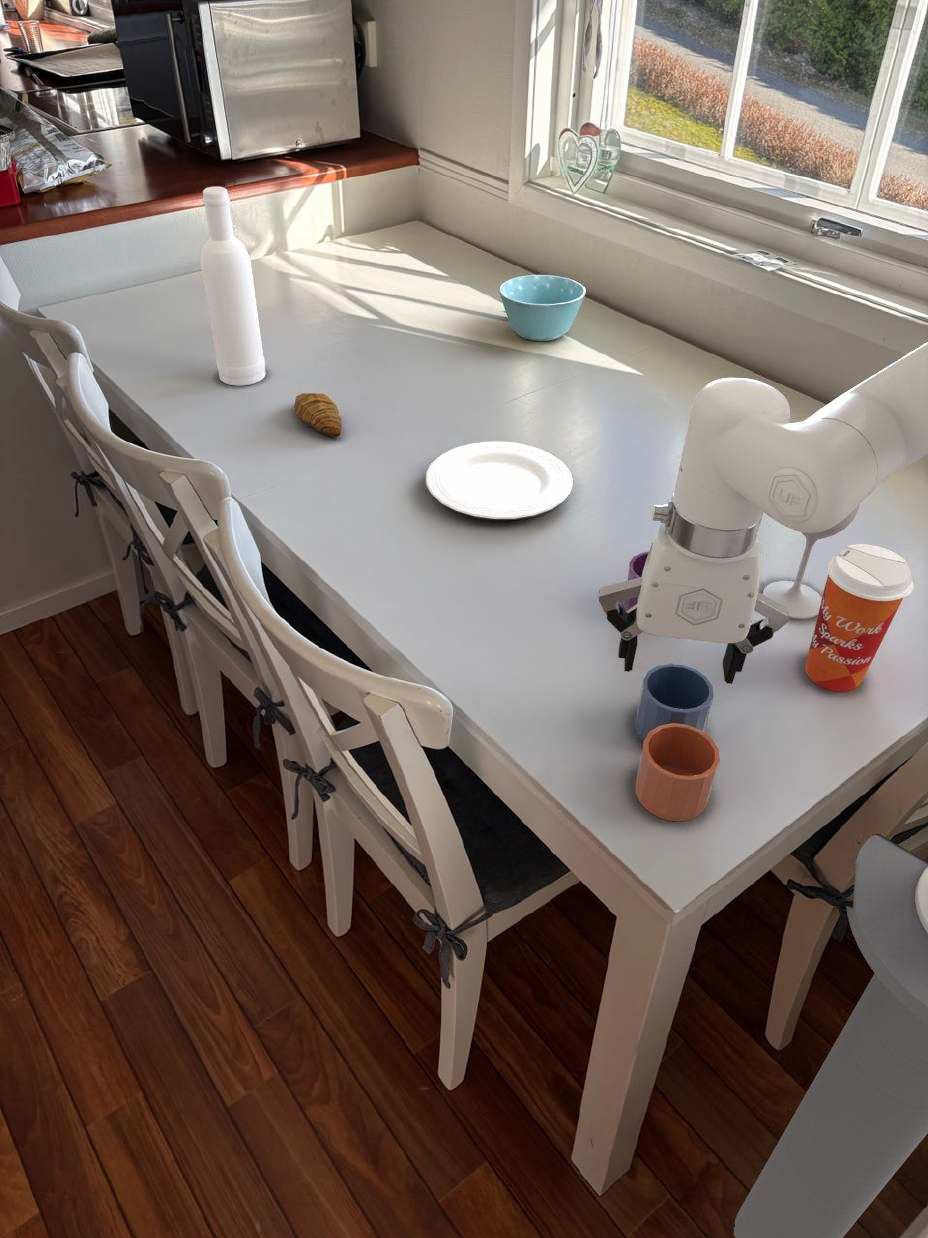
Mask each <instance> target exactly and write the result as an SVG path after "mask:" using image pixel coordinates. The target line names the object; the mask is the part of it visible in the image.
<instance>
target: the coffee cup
mask: <svg viewBox="0 0 928 1238" xmlns="http://www.w3.org/2000/svg"><path fill="white" fill-rule="evenodd" d="M826 571H827V577H826V582H825V584H824V588H823V591H822V595H821V598H822V600H821V604H820V609H819V613H818V615H817V616H816V617H817V618H816V621H815V624H814V628H813V633H812V636H811V641H810V644H809V649H808V652H807V653H808V654H807V658H806V663H805V672H806V675H807V676H808V678H809V679H810V680H811V681H812V682H813V683H814V684H816V685H817V686H819V687H821V688H823V689H825V690H828V691H831V692H838V693H845V692H846V693H847V692H851V691H854V690H856V689H857V688H858V687H859V686H860V685H861V683H862V682H863V680H864V678H865V676H866V674H867V672H868V670H869V668H870V666H871V664H872V662H873V660H874V659H875V656H876V654H877V652H878V650H879V648H880V646H881V644H882V642H883V640H884V639H885V636H886V634H887V632H888V630H889V628H890V626H891V624H892V622H893V620H894V618H895V616H896V614H897V612H898V609H899V607H900V606H901V604H902V601H903V600H904V598H907V597H909V596H910V595H911V594H912V592H913V591H914V588H915V587H914V586H915V585H914V583H913V577H912V575H911V569H910V565H909V564H908V562H907V561H906V559H904V558H903V557H901V555H899V554H897V553H896V552H895V551H892V550H890V549H888V548H885V547H882V546H878V545H874V544H866V543H857V544H849V545H846V546H845V547H844V548H842V549H841V550H840V551H839V552H837V553H836V554H835V555H834V556H832V557H831V558H830V559H829V561H828V563H827V565H826Z"/></svg>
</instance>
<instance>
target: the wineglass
mask: <svg viewBox="0 0 928 1238" xmlns="http://www.w3.org/2000/svg"><path fill="white" fill-rule="evenodd" d="M860 507H861V504H860V505H859V506H858V507H857V508H855V509H854V510H853V511H852V512H851V513H850V514H849V515H848V516H847V517H846V518H845V519H843V520H842V521H841V522H840V523H838V524H837V525H835V526H834V527H832V528H830V529H828V530H825V531H822V532H817V533H803V532H800V533H801V534H802V535H803V536H804V537H805V538H806V541H805V548H804V551H803V554H802V557H801V561H800V563H799V566H798V570H797V574H796V577H795V580H794V581H791V580H778V581H777V580H776V581H774V582H771V583H769V584H767V585H766V586H765V587H764V588H763V590H762V592H761V594H763V595H765V596H766V597H768V598H770V599H772V600H773V601H775V602H777V603H779V604H780V605H782V606H784V607H786V608H787V610H788V614H789V619H794V620H809V619H811V618H812V619H813V618H816V617H818V613H819V609H820V604H821V600H822V595H820V594H819V593H818V592H817V591H816V590H815V589H814V588H812V587H810V586H808V585H806V584H804V583H802V581H803V578H804V576H805V572H806V570H807V566H808V563H809V558H810V556H811V553H812V550H813V547H814V545H815V543H816V542H817V541H818V540H821V539H822V540H823V539H826V538H829V537H833V536H834V535H837V534H838V533H841V532H842V531H844V530H845V529H847V527H848V526H849V525H850V524H852V522H853V521H854V520H855V518H856V516H857V515H858V511H859V509H860Z"/></svg>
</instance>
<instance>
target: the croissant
mask: <svg viewBox="0 0 928 1238" xmlns="http://www.w3.org/2000/svg"><path fill="white" fill-rule="evenodd" d="M293 409H294V413H295V415H296V417H297V418H298V419H299V420H300V421H301V422H302V423H304V425H306V426H307V427H309V428H310V429H313V430H314V431H316V432H317V433H318V434H321V435H323V436H326V437H330V438H338V437H340V436H341V433H342V417H341V416H340V415H339V409H338V407H337V404H336V403H335V402H334V401H333V400H332V399H331V397H330V396H329V395H327V394H324V393H315V392H314V393H313V392H311V393H309V392H307V393H305V392H303V393H300V394H298V395H296V396H295V401H294V404H293Z"/></svg>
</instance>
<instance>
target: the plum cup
mask: <svg viewBox="0 0 928 1238" xmlns="http://www.w3.org/2000/svg"><path fill="white" fill-rule="evenodd" d="M648 553H649V551H643V552H640V553H638V554H636V555H635V556H633V557H632V558H631V560H630V561H629V562H628V567H627V575H626V581H628V580H632V579H635V578H639V577H641V576H642V573H643V569H644V566H645V562H646V559H647V556H648ZM622 602H623V603H622V606H623V607H622V608H623V609H624V610H625V611H627V610H629V609H630V608H632V607H633V606H635V605H636V604H638V600H637V597H634V598H631V599H627V600H623V601H622Z"/></svg>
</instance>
